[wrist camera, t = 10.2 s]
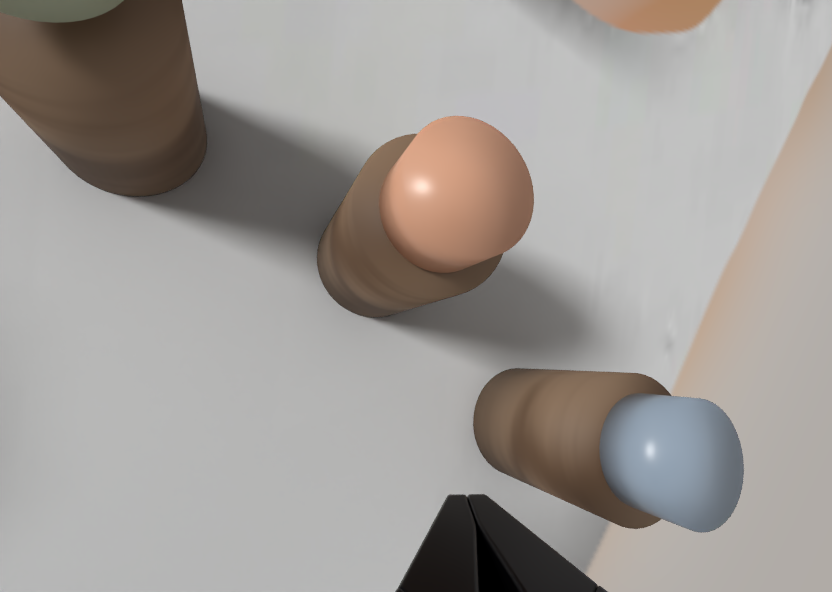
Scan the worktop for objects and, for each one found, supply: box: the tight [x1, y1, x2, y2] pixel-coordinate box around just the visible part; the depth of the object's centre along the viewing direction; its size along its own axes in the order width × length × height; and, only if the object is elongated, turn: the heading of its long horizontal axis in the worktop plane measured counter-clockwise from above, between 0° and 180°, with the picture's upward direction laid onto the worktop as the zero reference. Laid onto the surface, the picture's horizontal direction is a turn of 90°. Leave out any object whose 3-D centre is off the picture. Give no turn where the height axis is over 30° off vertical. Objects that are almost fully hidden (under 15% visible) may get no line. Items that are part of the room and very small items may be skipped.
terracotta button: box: [379, 116, 534, 273], centre depth 14 cm, size 4×4×2 cm
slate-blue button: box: [599, 393, 744, 532], centre depth 16 cm, size 4×4×2 cm
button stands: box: [0, 0, 671, 529], centre depth 18 cm, size 30×8×8 cm, turn 56°
